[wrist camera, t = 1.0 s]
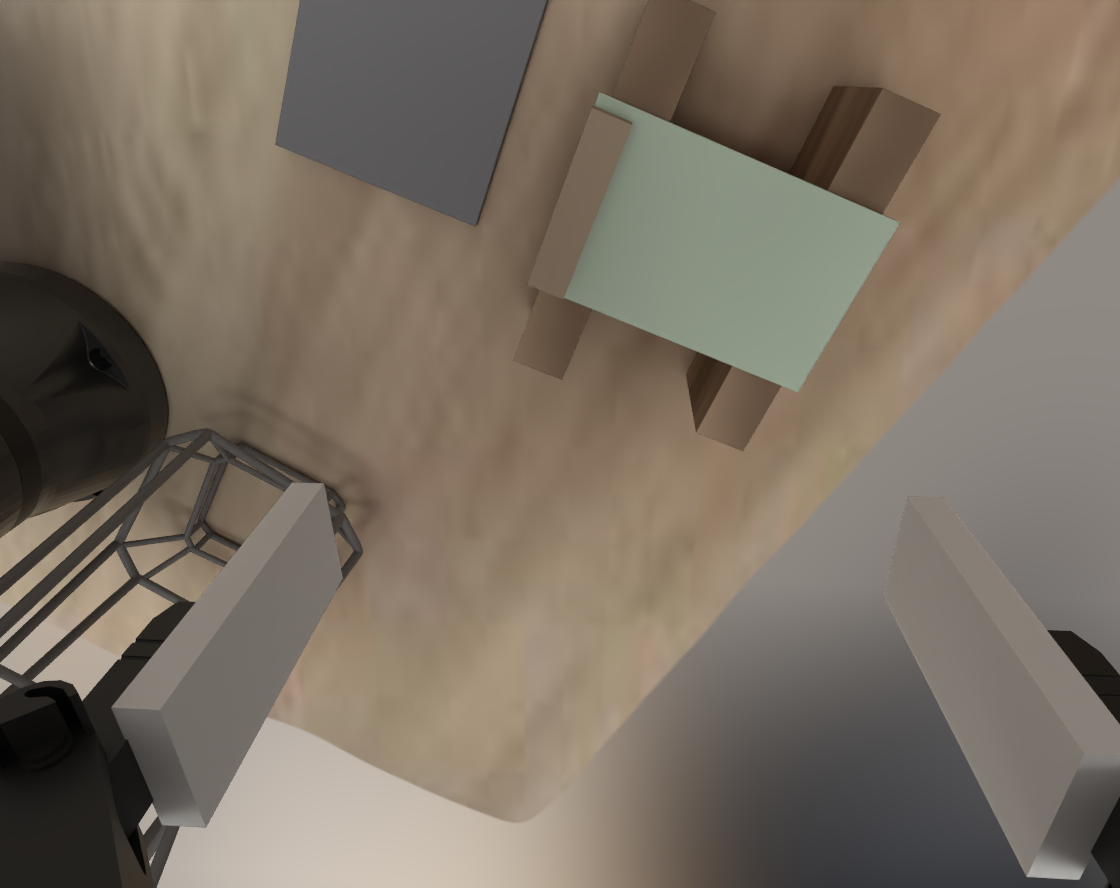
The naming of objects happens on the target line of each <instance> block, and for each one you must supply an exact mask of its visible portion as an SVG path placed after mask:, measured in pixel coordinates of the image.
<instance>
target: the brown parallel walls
mask: <svg viewBox="0 0 1120 888" xmlns="http://www.w3.org/2000/svg"><path fill="white" fill-rule="evenodd" d="M715 13H716V12H714V11H712V10H710V9H707V8H705V7H703V6H701V5H699V4H696V3H694V2H692V1H690V0H648V3H647V5H646V8H645V11H644V13H643V16H642V19H641V21H640V24H639V27H638V29H637V32H636V35H635V37H634V40H633V43H632V45H631V48H630V51H629V53H628V56H627V59H626V61H625V64H624V67H623V69H622V72H621V75H620V77H619V80H618V82H617V85H616V88H615V90H614V93H613V96H612V97H613V98H615V99H618V100H620V101H622V102H625V103H627V104H629V105H631V106H634V107H636V108H638V109H641V110H643V111H645V112H648V113H650V114H652V115H655V116H657V117H659V118H661V119H664V120H666V121H668V122H670V121H671V118H672V116H673V114H674V111H675V109H676V107H677V104H678V102H679V99H680V97H681V95H682V92H683V90H684V87H685V85H686V83H687V80H688V78H689V75H690V73H691V71H692V68H693V66H694V64H695V61H696V59H697V56H698V54H699V52H700V49H701V47H702V44H703V42H704V40H705V37H706V35H707V32H708V30H709V28H710V25H711V23H712V21H713V18H714V16H715ZM940 115H941V114H940V113H937V112H935V111H933V110H931V109H929V108H926V107H924V106H922V105H920V104H917V103H915V102H913V101H911V100H909V99H906V98H904V97H902V96H900V95H898V94H895V93H893V92H891V91H889V90H887V89H884V88H869V87H838V86H834V87H833V89H832V91H831V93H830V95H829V97H828V99H827V101H826V103H825V105H824V107H823V109H822V111H821V113H820V114H819V116H818V118H817V120H816V122H815V124H814V126H813V128H812V130H811V132H810V134H809V136H808V138H807V140H806V142H805V144H804V146H803V148H802V150H801V152H800V154H799V156H798V158H797V160H796V161H795V163H794V165H793V167H792V169H791V171H790V173H789V174H790V175H793V176H795V177H797V178H799V179H802V180H804V181H806V182H809V183H811V184H813V185H816V186H818V187H820V188H822V189H825V190H827V191H829V192H832V193H834V194H836V195H839V196H841V197H843V198H845V199H848V200H850V201H852V202H855V203H857V204H859V205H862V206H864V207H866V208H868V209H871V210H873V211H875V212H878V213H880V214H883V212H884V210H885V209H886V207H887V205H888V203H889V202H890V200H891V198H892V197H893V195H894V193H895V192H896V190H897V188H898V186H899V185H900V183H901V181H902V180H903V178H904V176H905V174H906V173H907V171H908V169H909V168H910V166H911V164H912V163H913V161H914V159H915V157H916V156H917V154H918V152H919V151H920V149H921V147H922V146H923V144H924V142H925V140H926V139H927V137H928V135H929V134H930V132H931V130H932V129H933V127H934V125H935V123H936V122H937V120H938V118H939V117H940ZM591 310H592V309H591V308H588V307H586V306H583V305H581V304H579V303H576V302H574V301H571V300H569V299H566V298H564V299H561V298H558V297H556V296H553V295H551V294H548V293H546V292H544V291H541V290H539V293H538V295H537V298H536V301H535V303H534V306H533V309H532V311H531V314H530V317H529V319H528V322H527V325H526V327H525V330H524V333H523V335H522V338H521V341H520V343H519V346H518V349H517V351H516V354H515V356H514V359H513V361H515V362H518V363H520V364H523V365H525V366H528V367H531V368H533V369H536V370H538V371H541V372H543V373H546V374H548V375H551V376H553V377H556V378H558V379H561V380H562V379H563V376H564V374H565V372H566V369H567V367H568V365H569V362H570V360H571V357H572V355H573V353H574V350H575V348H576V345H577V343H578V341H579V338H580V336H581V333H582V331H583V329H584V326H585V324H586V322H587V319H588V317H589V314H590V312H591ZM686 377H687V383H688V389H689V395H690V400H691V406H692V412H693V417H694V423H695V429H696V433H698V434H700V435H703V436H706V437H708V438H711V439H713V440H716V441H718V442H721V443H723V444H726V445H728V446H731V447H733V448H736V449H739V450H741V451H743V450H744V449H745V447H746V445H747V444H748V442H749V440H750V438H751V437H752V435H753V433H754V432H755V430H756V428H757V427H758V425H759V423H760V421H761V420H762V418H763V416H764V415H765V413H766V411H767V409H768V408H769V406H770V404H771V403H772V401H773V399H774V398H775V396H776V394H777V392H778V391H779V389H780V387H781V385H778V384H776V383H773V382H771V381H769V380H766V379H764V378H761V377H759V376H756V375H754V374H751V373H749V372H746V371H744V370H741V369H739V368H736V367H734V366H731V365H729V364H727V363H724V362H722V361H719V360H717V359H714V358H712V357H709V356H707V355H704V354H702V353H699V352H698V353H697V355H696V357H695V359H694V361H693V363H692V365H691V367H690V369H689V371H688V373H687V375H686Z"/></svg>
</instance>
